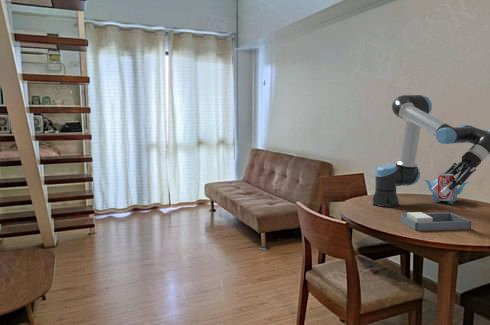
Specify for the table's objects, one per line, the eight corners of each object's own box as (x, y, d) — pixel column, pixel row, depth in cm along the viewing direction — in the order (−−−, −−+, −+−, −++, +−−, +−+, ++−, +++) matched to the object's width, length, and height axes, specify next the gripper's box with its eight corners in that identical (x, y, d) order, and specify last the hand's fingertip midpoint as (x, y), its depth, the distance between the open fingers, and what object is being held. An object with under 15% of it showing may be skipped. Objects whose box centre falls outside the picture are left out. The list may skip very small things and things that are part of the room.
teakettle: (446, 197, 227) (447, 174, 225) (470, 203, 209) (471, 179, 207) (420, 199, 224) (421, 176, 222) (441, 206, 205) (442, 181, 204)
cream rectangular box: (416, 228, 161) (417, 218, 161) (406, 222, 171) (406, 212, 171) (432, 228, 162) (432, 217, 161) (421, 222, 172) (421, 212, 171)
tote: (415, 232, 159) (415, 223, 158) (399, 223, 174) (400, 214, 174) (470, 231, 159) (471, 221, 159) (450, 221, 175) (450, 212, 174)
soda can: (456, 201, 161) (457, 175, 160) (439, 201, 162) (440, 175, 161) (451, 198, 168) (452, 173, 167) (434, 198, 169) (435, 173, 168)
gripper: (495, 164, 154) (456, 202, 155) (466, 159, 173) (432, 193, 175) (483, 152, 153) (445, 190, 155) (455, 149, 173) (421, 183, 174)
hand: (438, 192), depth 165 cm, fingers closed on soda can, 7 cm apart
